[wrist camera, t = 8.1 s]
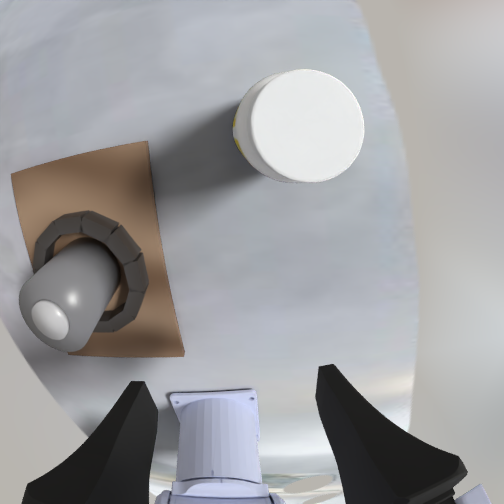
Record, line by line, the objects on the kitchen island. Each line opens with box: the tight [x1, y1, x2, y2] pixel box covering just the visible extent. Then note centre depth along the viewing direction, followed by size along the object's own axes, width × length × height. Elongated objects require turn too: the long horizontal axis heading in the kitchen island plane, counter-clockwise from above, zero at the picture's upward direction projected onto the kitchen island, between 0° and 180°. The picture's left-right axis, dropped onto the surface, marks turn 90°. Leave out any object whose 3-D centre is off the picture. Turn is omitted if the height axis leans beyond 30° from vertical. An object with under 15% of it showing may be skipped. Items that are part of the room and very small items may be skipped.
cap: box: [19, 237, 121, 352], centre depth 15 cm, size 5×5×6 cm
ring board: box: [11, 141, 185, 357], centre depth 18 cm, size 16×11×2 cm
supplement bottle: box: [232, 69, 364, 183], centre depth 13 cm, size 5×5×8 cm
